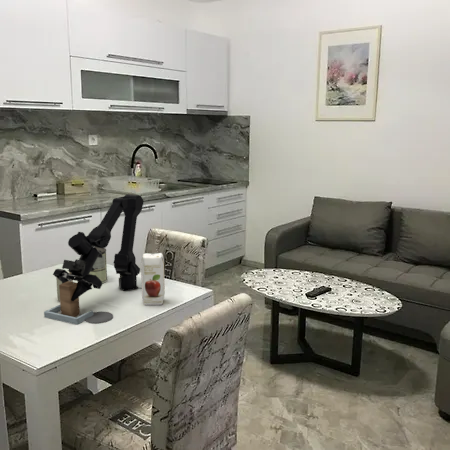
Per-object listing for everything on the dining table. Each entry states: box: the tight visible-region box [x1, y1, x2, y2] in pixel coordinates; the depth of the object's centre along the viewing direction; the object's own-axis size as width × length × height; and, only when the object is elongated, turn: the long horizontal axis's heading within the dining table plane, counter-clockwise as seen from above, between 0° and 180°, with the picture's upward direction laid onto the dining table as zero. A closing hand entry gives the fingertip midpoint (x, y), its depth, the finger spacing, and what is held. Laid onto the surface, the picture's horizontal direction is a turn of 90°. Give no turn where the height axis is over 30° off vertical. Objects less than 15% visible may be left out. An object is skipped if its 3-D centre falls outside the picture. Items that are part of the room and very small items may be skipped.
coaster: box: [84, 311, 114, 324], centre depth 172 cm, size 10×10×1 cm
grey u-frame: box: [43, 304, 94, 325], centre depth 173 cm, size 8×15×2 cm, turn 65°
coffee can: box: [89, 247, 108, 286], centre depth 211 cm, size 10×10×14 cm
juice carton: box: [140, 252, 166, 306], centre depth 186 cm, size 8×9×19 cm
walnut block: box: [59, 281, 81, 318], centre depth 173 cm, size 4×4×12 cm
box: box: [55, 270, 74, 302], centre depth 189 cm, size 5×4×11 cm
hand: (66, 299), depth 171 cm, fingers closed on walnut block, 4 cm apart
